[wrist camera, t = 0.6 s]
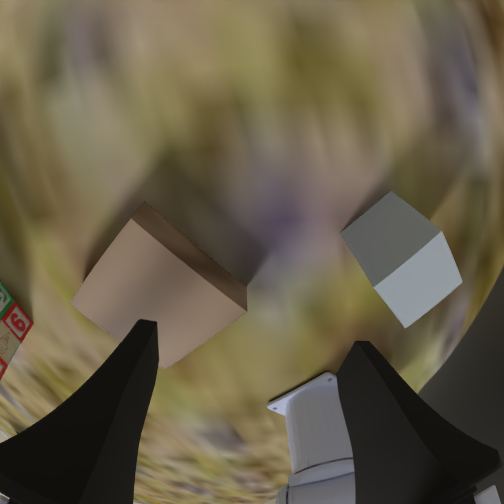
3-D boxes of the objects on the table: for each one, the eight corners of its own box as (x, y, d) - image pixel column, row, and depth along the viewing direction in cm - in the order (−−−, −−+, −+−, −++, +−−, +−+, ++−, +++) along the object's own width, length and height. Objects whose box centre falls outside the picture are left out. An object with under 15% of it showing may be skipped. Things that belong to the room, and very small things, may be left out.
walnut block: (246, 283, 21) (247, 311, 18) (171, 342, 24) (165, 369, 21) (146, 199, 17) (130, 218, 15) (84, 280, 20) (69, 303, 18)
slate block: (417, 235, 19) (462, 281, 14) (372, 272, 20) (405, 328, 15) (390, 190, 17) (441, 230, 12) (339, 233, 19) (373, 287, 13)
